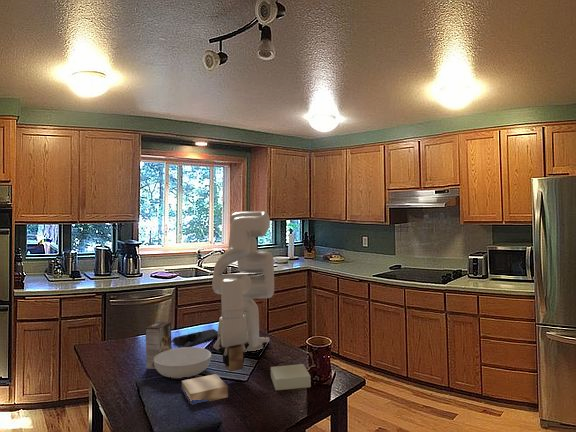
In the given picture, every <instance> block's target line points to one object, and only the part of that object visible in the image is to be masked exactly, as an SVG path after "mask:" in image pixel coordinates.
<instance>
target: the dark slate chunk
mask: <svg viewBox="0 0 576 432" xmlns="http://www.w3.org/2000/svg"><path fill="white" fill-rule="evenodd" d="M216 338H218V330H216V329H214V328H211V329H207V330H202V331H197V332H192V333H187V334H183V335H179V336H175V337H173V339H171V343H174V345H176V346H179V347H193V346H196V345H197V346H198V345H199V344H203V343H204V342H208V341H211V340H213V339H214V340H215V339H216Z"/></svg>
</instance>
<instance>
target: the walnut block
mask: <svg viewBox="0 0 576 432" xmlns="http://www.w3.org/2000/svg"><path fill="white" fill-rule="evenodd" d="M227 355H228V356H229V366H228V367H227V366H226V365H225V364H224V366H225V367H224V368H225V369H227V371H228V372H230V373H231V372H235V371H239V370H244V363H243V346H241V345H236V346H231V347H229V348H228V352H227Z"/></svg>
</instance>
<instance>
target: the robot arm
mask: <svg viewBox="0 0 576 432" xmlns="http://www.w3.org/2000/svg"><path fill="white" fill-rule="evenodd" d="M270 220H271V219H270V215H269V212H266V211H265V210H264V211H263V210H262V211H238V212H237V211H236V212H233V213H231V215H230V216H229V224H230V231H229V237H228V238H229V239H228V246H227V248H228V249H227V250H226V251H225V252H224V253H223V254H221V255H220V257H219V258H218V259H217V261H216V263H215V264H214V268H213V274H212V281H211V282H212V284H211V285H212V291H213V293H214V294H216V295H221V296H220V297H221V301H220V302H221V316H220V317H219V319H218V327H217V331H218V337H217V340H216V341H215V343H214V344H213V346H212V347H213V348H214V349H215V350H216V351H218V352H219V353H221V354H222V363H223V364H224V366H225V365H226V366H227V367H228V366H229V356H228V355H227V352H228V348H229V347H231V346H236V345H241V346H243V364H244V363H245V358H246V356H245V355H246V353H245V352H247V351H256V350H260V349H262V350H263V349H264V345H263V344H264V343H269V342H270V337H267V336H266V337H264V336H262V337H260V322H259V321H260V319H259V318H260V317H259V315H260V314H259V312H260V311H259V305H258V304H257V303H256V302H255V300H254V299H270V298H272V297H273V296H274V294H275V261H274V257H273V254H272V253H271V252H269V251H258V249H257V247H258V245H257V244H258V241H257V238H258V237H259V238H261V237H265V236H266V234H267V233H268V230H269V228H270V223H271V221H270ZM236 262H237V269H238V271H239V272H240V273H223V272H224V271H225V269H226V268H227V267H228V266H230V265H231V264H233V263H236ZM248 274H262V276H261V275H259V276H258V275H257V276H256V275H255V276H253V275H251V276H250V275H248ZM220 345H221V346H220ZM260 351H261V350H260Z"/></svg>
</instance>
